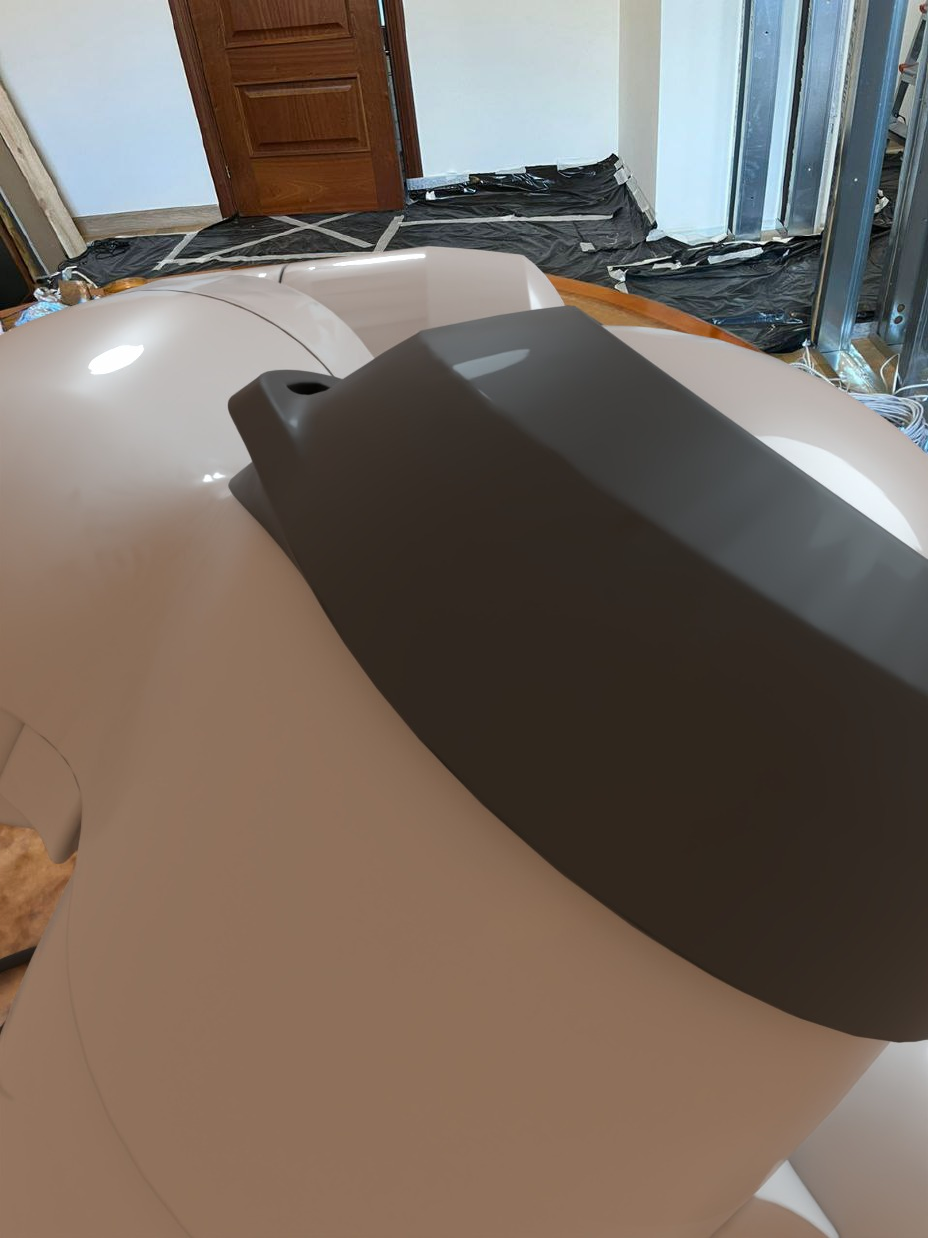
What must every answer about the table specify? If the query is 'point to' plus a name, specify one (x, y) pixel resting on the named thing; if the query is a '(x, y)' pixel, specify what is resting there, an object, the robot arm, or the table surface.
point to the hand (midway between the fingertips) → (793, 620)
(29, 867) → the table surface
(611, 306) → the table surface
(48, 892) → the table surface
